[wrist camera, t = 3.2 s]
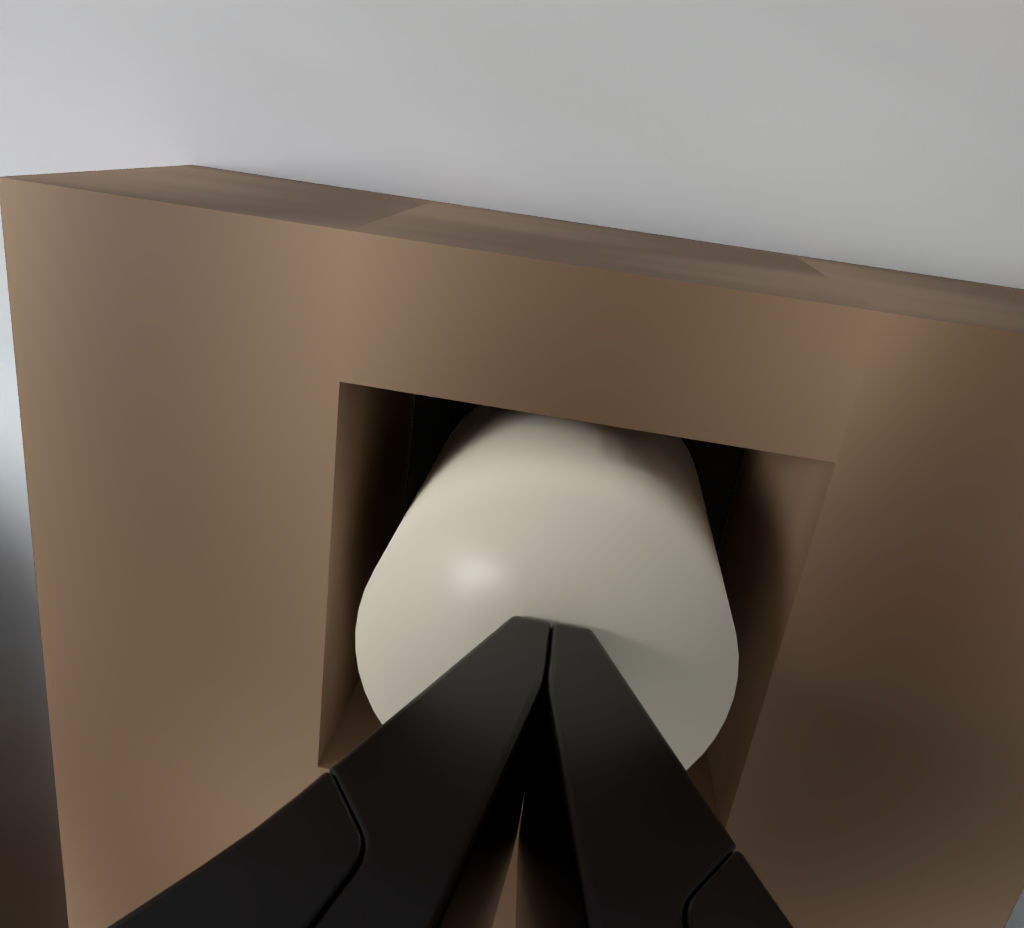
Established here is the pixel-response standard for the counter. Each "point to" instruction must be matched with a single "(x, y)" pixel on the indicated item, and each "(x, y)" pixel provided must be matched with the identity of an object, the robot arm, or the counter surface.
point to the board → (534, 389)
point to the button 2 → (558, 566)
